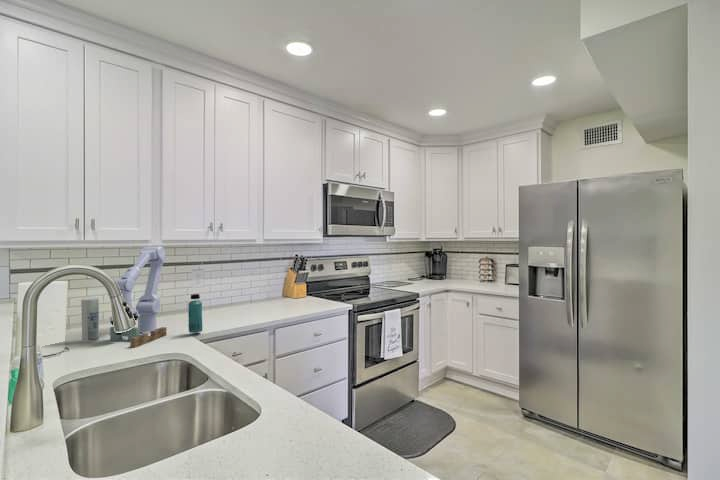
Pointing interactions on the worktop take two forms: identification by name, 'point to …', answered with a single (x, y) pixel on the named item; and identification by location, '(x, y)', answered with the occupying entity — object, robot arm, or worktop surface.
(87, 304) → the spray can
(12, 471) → the worktop surface
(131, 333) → the slotted plate
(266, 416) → the worktop surface
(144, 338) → the slotted board
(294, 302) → the worktop surface
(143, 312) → the robot arm
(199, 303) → the beverage bottle
